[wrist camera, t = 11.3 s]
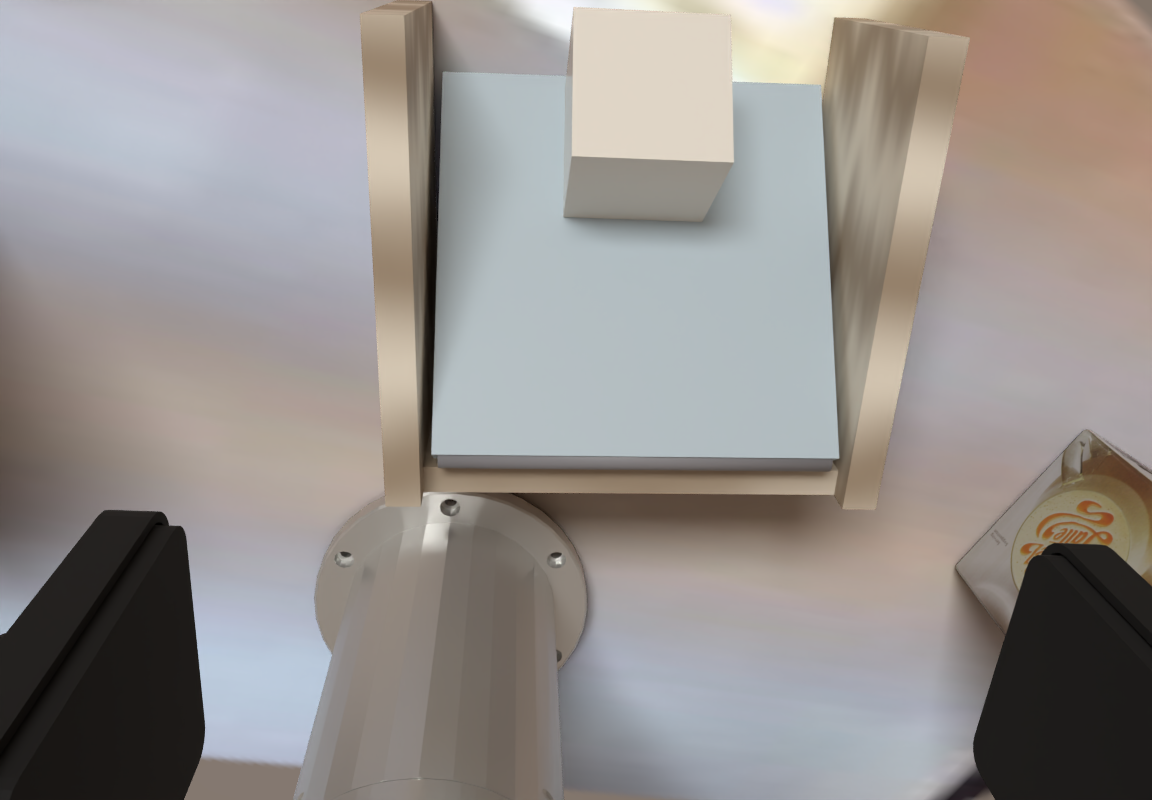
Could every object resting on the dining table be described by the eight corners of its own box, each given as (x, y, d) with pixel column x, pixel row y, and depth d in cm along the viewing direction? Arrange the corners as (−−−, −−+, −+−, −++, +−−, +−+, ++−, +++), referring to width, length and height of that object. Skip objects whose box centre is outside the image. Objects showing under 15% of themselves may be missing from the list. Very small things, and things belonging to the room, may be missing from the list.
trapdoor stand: (806, 402, 42) (875, 509, 34) (412, 396, 41) (385, 506, 33) (866, 18, 35) (970, 37, 27) (398, -1, 34) (360, 14, 26)
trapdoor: (830, 472, 34) (839, 469, 33) (433, 469, 33) (430, 466, 32) (812, 98, 36) (820, 84, 36) (444, 85, 36) (442, 71, 35)
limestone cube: (700, 93, 35) (731, 14, 30) (702, 222, 34) (734, 162, 29) (565, 87, 35) (573, 7, 30) (563, 216, 34) (571, 156, 29)
